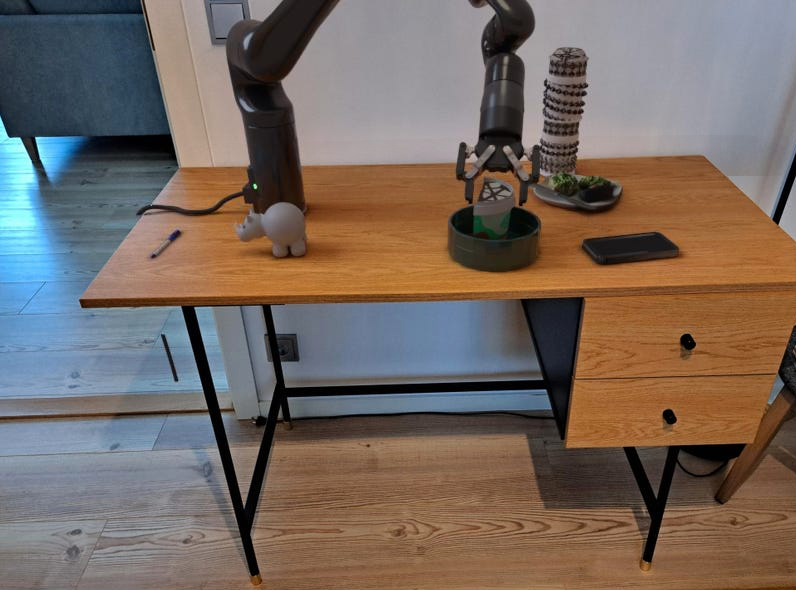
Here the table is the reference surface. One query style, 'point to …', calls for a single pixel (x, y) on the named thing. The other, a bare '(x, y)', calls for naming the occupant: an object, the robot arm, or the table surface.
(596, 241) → the phone
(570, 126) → the decorative candle
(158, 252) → the ballpoint pen
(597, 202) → the salad plate
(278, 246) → the round bodied animal figurine
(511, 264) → the bowl
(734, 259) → the table surface
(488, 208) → the food container
